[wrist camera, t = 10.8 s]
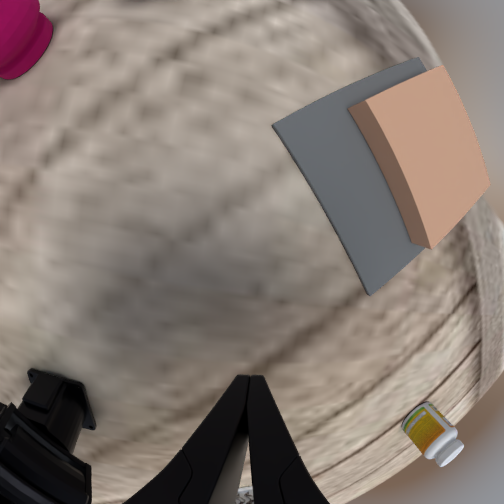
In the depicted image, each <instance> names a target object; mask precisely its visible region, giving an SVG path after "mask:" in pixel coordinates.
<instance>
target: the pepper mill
mask: <svg viewBox="0 0 504 504" xmlns="http://www.w3.org/2000/svg"><path fill="white" fill-rule="evenodd" d="M39 10H40V4H39V1H38V0H0V77H1V78H3V79H14V78H16V77H19V76H20V75H22V74H23V73H25V72H26V71H28V70H29V69H30V68H31V67H32V66H33V65H34V64H35V63H36V62H37V60H38V59H39V58H40V57H41V56H42V54H43V52H44V51H45V49H46V48H47V46H48V44H49V42H50V40H51V37H52V32H53V26H52V23H51V22H50V21H49V20H48V18H47V17H46V16H45V15H44V14H42V13H40V12H39Z"/></svg>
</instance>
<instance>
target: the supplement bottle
mask: <svg viewBox="0 0 504 504" xmlns="http://www.w3.org/2000/svg"><path fill="white" fill-rule="evenodd" d="M402 429H403V430H404V432H405V433H406V434H407V435H408V436H409V438H410V439H411V440H412V441H413V443H414V444H415V445H416V446H417V448H418V449H419V450H420V451H421V453H422V454H423V455H424V456H425V457H426V458H427V459H433V458H436V462H437V464H438V465H439V466H440V467H443V466H445V465H446V464H448V463H449V462H450V461H451V460H453V459H454V458H455V457H456V456H457V455H458V454H459V452H461V450H462V449H463V447H464V445H463V443H462V442H461V441H460V440H456V437H457V430H456V428H455V427H454V426H453V425H452V424H451V423H450V422H449V421H448V420H447V419H446V418H445V417H444V416H443V415H442V414H441V413H440V412H439V411H438V410H437V409H436V408H435V407H434V406H433V405H432V404H431V403H429V402H426V403H423V404H421V405H419V406H418V407H416V408H415V409H414V410H413V411H412V412H411V413H410V414H409V415H408V416H407V417H406V418H405V420H404V422H403V424H402Z"/></svg>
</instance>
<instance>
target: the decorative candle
mask: <svg viewBox="0 0 504 504" xmlns="http://www.w3.org/2000/svg"><path fill="white" fill-rule="evenodd" d="M235 504H254V500H253V488H252V486H248V487H242V488H239V489H238V493H237V498H236V502H235Z"/></svg>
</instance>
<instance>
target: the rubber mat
mask: <svg viewBox="0 0 504 504" xmlns="http://www.w3.org/2000/svg"><path fill="white" fill-rule="evenodd" d="M425 71H427V70H426V68H425V67H424V65H423V63H422V62H421V60H420V58H419V57H417V58H414V59H412V60H409V61H406V62H403V63H401V64H398V65H395V66H393V67H390V68H388V69H385V70H383V71H380V72H378V73H376V74H373V75H371V76H368V77H366V78H364V79H362V80H359V81H357V82H355V83H353V84H350V85H348V86H346V87H344V88H342V89H340V90H337V91H335V92H333V93H331V94H329V95H327V96H325V97H323V98H321V99H319V100H317V101H315V102H313V103H311V104H309V105H307V106H305V107H304V108H302V109H300V110H298V111H296V112H294V113H292V114H291V115H289V116H287V117H285V118H283V119H281V120H280V121H278V122H276V123H274V124H273V125H272V127H273V128H274V130H275V131H276V133H277V134H278V136H279V137H280V139H281V140H282V142H283V143H284V145H285V147H286V148H287V150H288V151H289V153H290V154H291V156H292V158H293V159H294V161H295V162H296V164H297V166H298V167H299V169H300V170H301V172H302V174H303V175H304V177H305V179H306V180H307V182H308V184H309V185H310V187H311V189H312V190H313V192H314V194H315V195H316V197H317V199H318V201H319V202H320V204H321V206H322V208H323V209H324V211H325V213H326V215H327V217H328V218H329V220H330V222H331V224H332V226H333V227H334V229H335V231H336V233H337V235H338V237H339V239H340V240H341V242H342V244H343V246H344V248H345V250H346V252H347V254H348V256H349V258H350V260H351V262H352V264H353V266H354V268H355V270H356V272H357V274H358V276H359V278H360V280H361V282H362V284H363V286H364V288H365V290H366V293H367V295H369V296H371V295H372V294H373V293H375V292H376V291H377V290H378V289H379V288H381V287H382V286H383V285H384V284H385V283H387V282H388V281H389V280H390V279H391V278H392V277H394V276H395V275H396V274H397V273H398V272H399V271H400V270H402V269H403V268H404V267H405V266H406V265H407V264H408V263H409V262H410V261H412V260H413V259H414V258H415V257H416V256H417V255H418V254H419V253H420V252H421V251H422V250H423V249H424V248H425V247H423V246H420V245H417V244H414V243H412V242H411V239H410V237H409V234H408V231H407V229H406V226H405V223H404V221H403V218H402V216H401V213H400V211H399V208H398V206H397V204H396V201H395V199H394V197H393V194H392V192H391V190H390V188H389V186H388V183H387V181H386V179H385V177H384V175H383V173H382V171H381V169H380V167H379V165H378V163H377V161H376V159H375V157H374V155H373V153H372V151H371V149H370V147H369V145H368V143H367V141H366V140H365V138H364V136H363V134H362V132H361V131H360V129H359V127H358V125H357V124H356V122H355V120H354V119H353V117H352V115H351V114H350V112H349V110H348V109H347V108H349V107H351V106H353V105H355V104H357V103H359V102H361V101H363V100H365V99H367V98H369V97H371V96H373V95H375V94H377V93H379V92H381V91H383V90H385V89H387V88H389V87H392V86H394V85H396V84H398V83H400V82H402V81H405V80H407V79H409V78H411V77H414V76H416V75H418V74H420V73H423V72H425Z"/></svg>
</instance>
